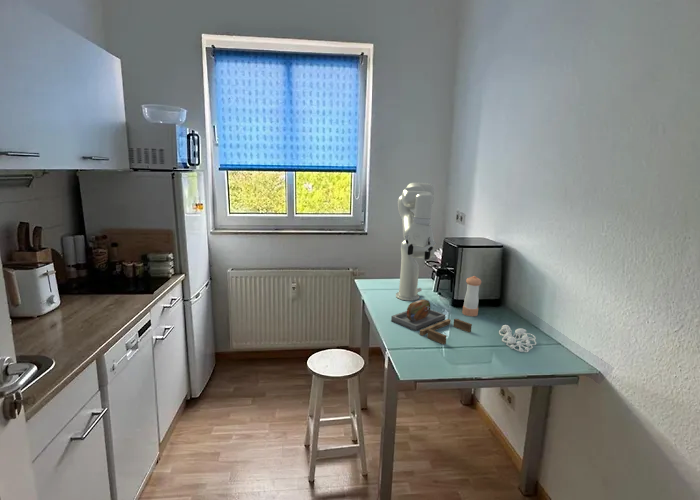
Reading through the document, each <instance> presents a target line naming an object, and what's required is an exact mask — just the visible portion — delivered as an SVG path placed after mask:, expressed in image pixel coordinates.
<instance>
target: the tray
mask: <svg viewBox="0 0 700 500" xmlns="http://www.w3.org/2000/svg"><path fill="white" fill-rule="evenodd" d="M444 320H446V314H444V313H441V312H439V311H437V310H433V309H431V308H430V312H429V314H428V316H427V317H425V318H423V319H420V320H418V321H415V322H414V321H411V320H409V319H408V318H407V310H405V311H402V312H399V313H396V314H393V315H391V320H390V322H392V323H395V324H397V325H400V326H401V327H405V328H407V329H410V330H411V331H414V332H418V331H420V330H422V329H424V328H427V327H429V326H432V325H434V324H437V323H439V322H441V321H444Z"/></svg>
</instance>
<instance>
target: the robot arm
mask: <svg viewBox="0 0 700 500" xmlns="http://www.w3.org/2000/svg"><path fill="white" fill-rule="evenodd" d="M434 194H435V189H434V186H433V185H432V183H430V182H429V183H428V182H410V183H409V184H407V186H406V187H405V188H404V189H403V190H402V193H401V195H400V196H399V197H398V198H397V209H398V214H399V215H400V218H401V220H402V223H401V224H402V237H403V239H404V240H403V241H401V243H400V253H401V254H400V255H401V258H400V259H401V261H400V275H399V286H398V292H396V293H395V297H396V298H397V299H399V300H402V301H409V302H416V301H419V300H420V295H419V294H418V293H420V292H422V288H421V287H419V286H418V283H419V273H420V266H419V263H418V262H417V260H416V259H418V258H419V259H424V260H425V261H427V260H430V259H432V258H433V257H434V256H435V249H436V248H435V247H436V246H437V243H436V242H435V240H434V230H433V227H432V224H431V217H432V208H433V203H434ZM413 211H414V212H413Z"/></svg>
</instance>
